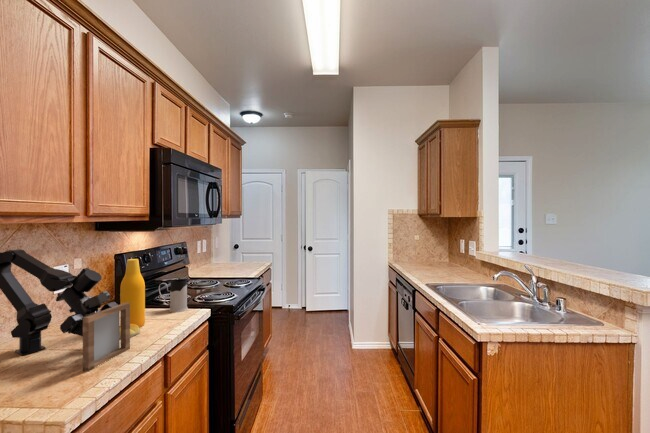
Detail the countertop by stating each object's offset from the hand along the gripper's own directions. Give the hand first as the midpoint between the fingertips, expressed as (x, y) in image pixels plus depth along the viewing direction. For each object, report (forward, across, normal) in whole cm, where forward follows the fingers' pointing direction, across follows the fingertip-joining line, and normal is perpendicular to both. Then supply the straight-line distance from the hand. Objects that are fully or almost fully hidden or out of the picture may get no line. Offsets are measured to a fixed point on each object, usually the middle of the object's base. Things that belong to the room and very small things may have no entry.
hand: (106, 334), depth 111 cm
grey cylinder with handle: (-1, +50, +11) cm, 51 cm away
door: (+5, -4, +4) cm, 7 cm away
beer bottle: (-3, +26, +12) cm, 28 cm away
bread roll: (+1, +16, +9) cm, 19 cm away
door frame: (+8, -4, +2) cm, 9 cm away
